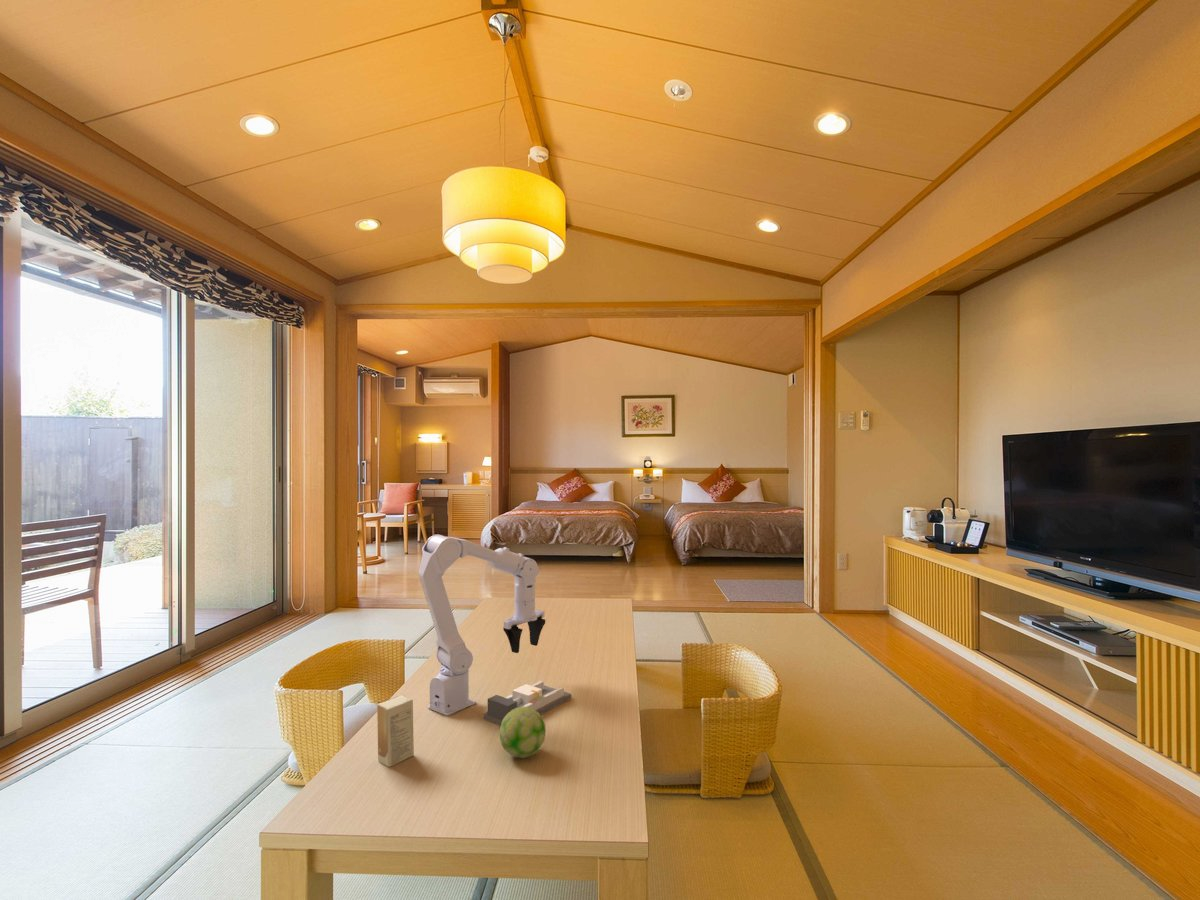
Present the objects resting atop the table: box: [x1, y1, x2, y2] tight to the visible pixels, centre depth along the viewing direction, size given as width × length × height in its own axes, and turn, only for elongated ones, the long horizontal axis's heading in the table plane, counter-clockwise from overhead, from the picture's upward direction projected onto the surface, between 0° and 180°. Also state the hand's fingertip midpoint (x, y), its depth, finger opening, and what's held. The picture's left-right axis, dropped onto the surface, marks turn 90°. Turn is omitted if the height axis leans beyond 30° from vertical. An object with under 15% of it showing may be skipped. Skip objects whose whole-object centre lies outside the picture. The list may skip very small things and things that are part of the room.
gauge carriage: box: [511, 683, 542, 707], centre depth 146 cm, size 8×7×4 cm
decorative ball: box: [499, 707, 546, 759], centre depth 125 cm, size 10×10×10 cm
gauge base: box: [482, 680, 572, 726], centre depth 148 cm, size 22×10×5 cm, turn 144°
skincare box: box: [376, 694, 415, 768], centre depth 124 cm, size 6×4×12 cm
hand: (524, 648), depth 163 cm, fingers open, 7 cm apart
